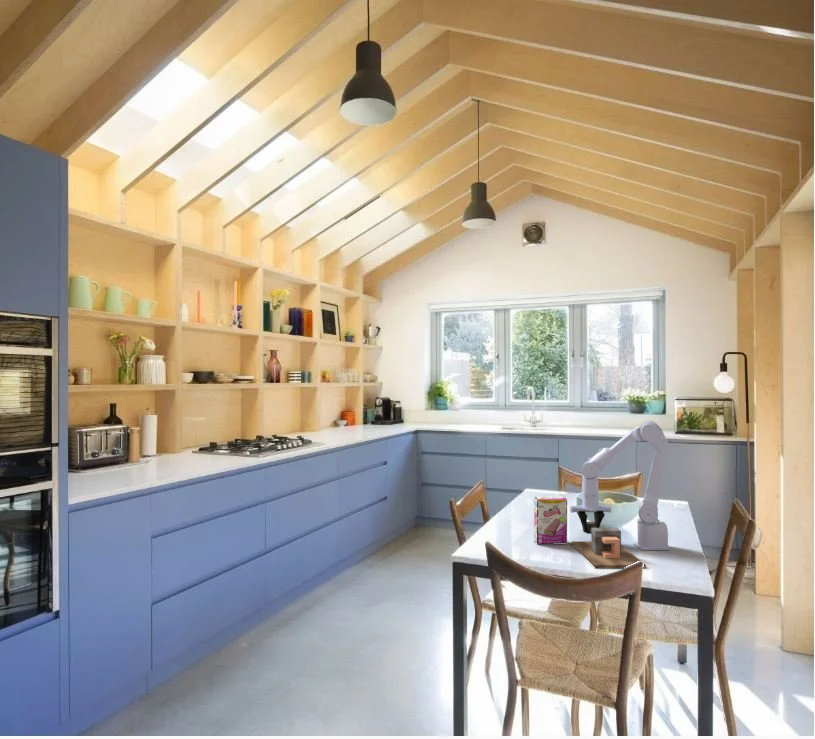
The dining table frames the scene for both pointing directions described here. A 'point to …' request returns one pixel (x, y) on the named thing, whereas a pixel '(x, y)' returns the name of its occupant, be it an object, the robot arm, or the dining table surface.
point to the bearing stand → (604, 549)
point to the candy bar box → (550, 520)
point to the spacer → (612, 547)
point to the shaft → (591, 525)
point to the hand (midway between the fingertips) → (590, 532)
